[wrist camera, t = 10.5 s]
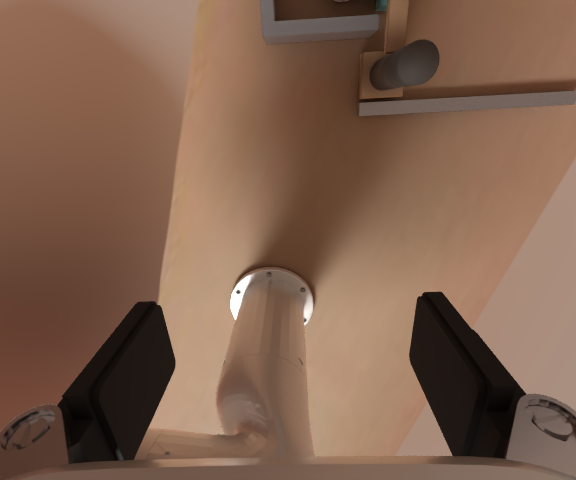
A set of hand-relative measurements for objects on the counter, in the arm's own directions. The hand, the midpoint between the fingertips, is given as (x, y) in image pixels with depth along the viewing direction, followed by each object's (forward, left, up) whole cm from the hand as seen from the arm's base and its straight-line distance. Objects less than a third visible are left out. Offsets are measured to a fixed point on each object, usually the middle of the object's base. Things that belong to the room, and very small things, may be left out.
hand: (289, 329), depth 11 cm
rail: (+7, -20, -30) cm, 37 cm away
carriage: (+16, -10, -30) cm, 35 cm away
